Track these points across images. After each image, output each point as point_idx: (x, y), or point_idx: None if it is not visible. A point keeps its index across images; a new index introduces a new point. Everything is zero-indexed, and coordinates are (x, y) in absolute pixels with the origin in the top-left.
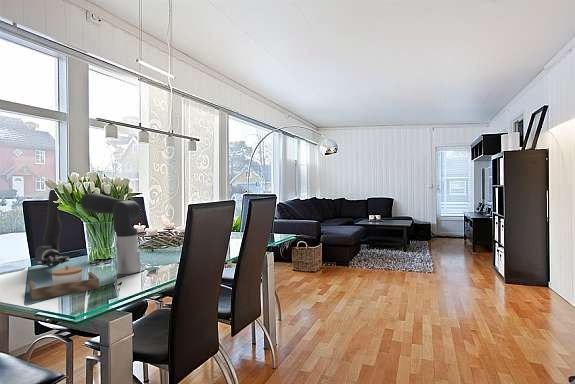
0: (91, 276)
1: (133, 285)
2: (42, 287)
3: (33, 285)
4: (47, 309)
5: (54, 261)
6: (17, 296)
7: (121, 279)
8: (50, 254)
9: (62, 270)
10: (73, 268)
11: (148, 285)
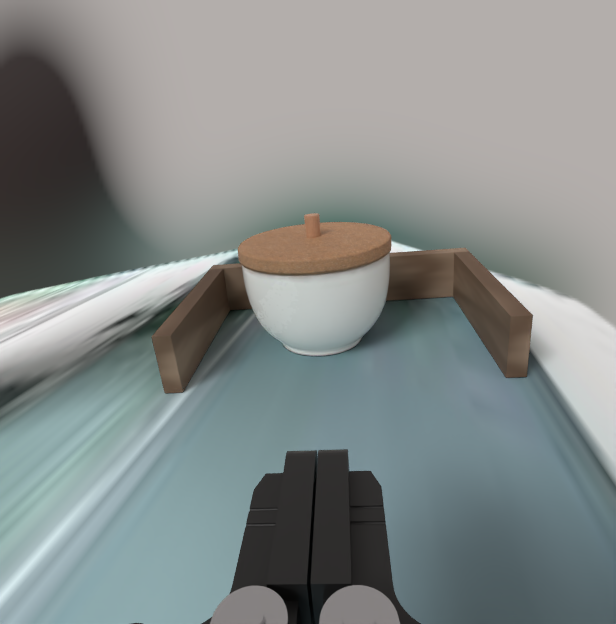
0: (203, 300)
1: (122, 296)
2: (427, 250)
3: (473, 268)
4: (404, 247)
5: (343, 450)
6: (559, 335)
7: (59, 357)
8: None
9: (337, 231)
10: (280, 238)
11: (99, 285)
